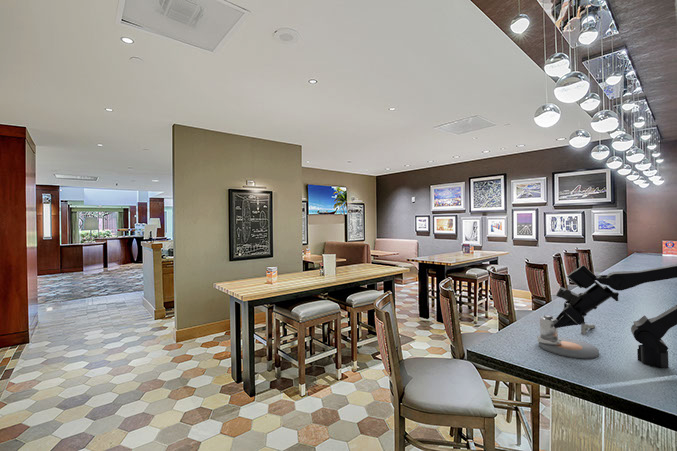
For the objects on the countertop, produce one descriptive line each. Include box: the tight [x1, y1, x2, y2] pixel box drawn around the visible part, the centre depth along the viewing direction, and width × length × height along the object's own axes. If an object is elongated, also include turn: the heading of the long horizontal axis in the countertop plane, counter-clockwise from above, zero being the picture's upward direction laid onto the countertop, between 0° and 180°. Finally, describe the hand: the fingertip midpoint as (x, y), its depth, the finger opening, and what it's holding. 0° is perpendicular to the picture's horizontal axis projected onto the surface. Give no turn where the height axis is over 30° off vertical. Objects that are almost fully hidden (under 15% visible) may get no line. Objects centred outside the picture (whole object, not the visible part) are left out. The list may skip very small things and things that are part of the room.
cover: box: [536, 314, 561, 346], centre depth 119 cm, size 8×8×10 cm
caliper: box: [580, 321, 596, 335], centre depth 138 cm, size 20×1×6 cm, turn 131°
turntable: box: [538, 336, 600, 359], centre depth 116 cm, size 18×18×1 cm
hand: (555, 323), depth 118 cm, fingers open, 9 cm apart
